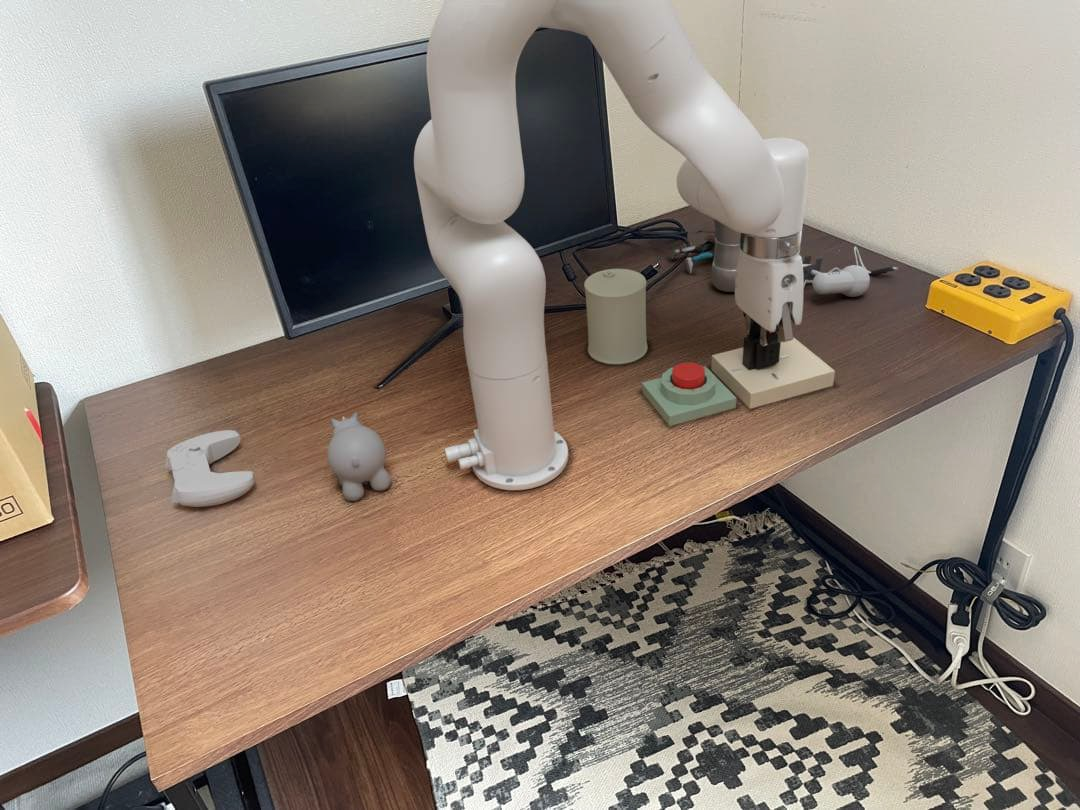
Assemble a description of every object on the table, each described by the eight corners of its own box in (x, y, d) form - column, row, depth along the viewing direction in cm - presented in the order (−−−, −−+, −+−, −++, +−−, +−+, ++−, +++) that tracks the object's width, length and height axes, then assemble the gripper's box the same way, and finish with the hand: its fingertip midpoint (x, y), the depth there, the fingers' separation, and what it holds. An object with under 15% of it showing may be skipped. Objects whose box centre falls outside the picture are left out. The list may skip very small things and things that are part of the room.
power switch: (669, 426, 108) (669, 405, 106) (641, 392, 115) (641, 371, 113) (736, 408, 110) (737, 386, 108) (705, 375, 117) (705, 355, 115)
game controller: (257, 476, 102) (171, 492, 97) (260, 504, 104) (176, 521, 99) (236, 420, 113) (158, 432, 108) (239, 447, 115) (162, 460, 110)
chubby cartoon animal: (379, 440, 111) (366, 389, 106) (398, 492, 102) (384, 439, 97) (327, 455, 109) (312, 404, 105) (341, 509, 100) (325, 456, 95)
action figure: (690, 278, 144) (776, 251, 148) (691, 248, 140) (779, 222, 144) (668, 259, 150) (751, 234, 154) (668, 230, 146) (753, 205, 150)
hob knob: (748, 370, 113) (750, 342, 110) (742, 364, 114) (743, 336, 111) (779, 362, 114) (781, 333, 111) (772, 356, 115) (774, 327, 112)
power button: (680, 393, 109) (681, 382, 108) (666, 377, 112) (666, 366, 111) (710, 385, 109) (710, 374, 108) (695, 369, 113) (695, 359, 112)
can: (632, 328, 130) (631, 260, 123) (657, 355, 123) (657, 284, 116) (579, 342, 128) (574, 273, 121) (601, 370, 121) (597, 299, 114)
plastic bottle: (750, 297, 135) (758, 180, 124) (709, 296, 137) (713, 181, 125) (750, 279, 140) (757, 166, 129) (710, 279, 142) (714, 167, 130)
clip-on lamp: (849, 277, 144) (772, 284, 136) (857, 242, 141) (779, 246, 133) (903, 296, 134) (823, 304, 127) (912, 259, 132) (832, 265, 124)
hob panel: (749, 409, 110) (750, 392, 108) (711, 369, 118) (711, 354, 117) (833, 385, 112) (835, 369, 111) (789, 349, 121) (790, 333, 119)
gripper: (833, 256, 98) (817, 382, 108) (763, 213, 110) (754, 330, 121) (778, 270, 96) (767, 397, 107) (713, 224, 109) (709, 342, 119)
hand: (761, 360), depth 114 cm, fingers closed on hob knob
